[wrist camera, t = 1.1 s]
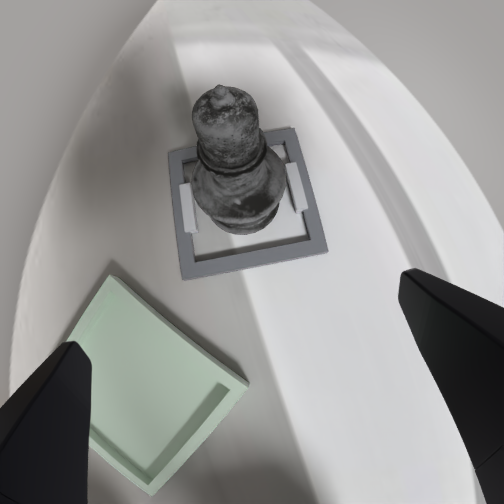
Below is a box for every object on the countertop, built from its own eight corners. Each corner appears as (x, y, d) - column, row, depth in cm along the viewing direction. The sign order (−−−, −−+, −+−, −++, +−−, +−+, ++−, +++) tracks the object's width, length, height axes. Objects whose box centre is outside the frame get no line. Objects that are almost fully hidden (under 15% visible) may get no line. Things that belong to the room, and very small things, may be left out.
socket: (327, 253, 21) (329, 250, 20) (184, 280, 21) (181, 279, 20) (293, 131, 23) (294, 125, 22) (169, 155, 23) (167, 151, 23)
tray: (249, 383, 19) (248, 387, 18) (157, 488, 18) (151, 496, 16) (118, 277, 21) (109, 274, 20) (49, 388, 20) (38, 391, 18)
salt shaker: (225, 153, 23) (194, 31, 11) (296, 181, 22) (317, 61, 11) (188, 219, 22) (117, 124, 10) (262, 252, 21) (256, 172, 10)
